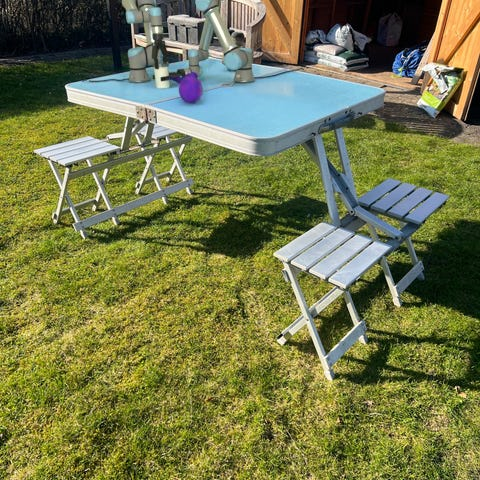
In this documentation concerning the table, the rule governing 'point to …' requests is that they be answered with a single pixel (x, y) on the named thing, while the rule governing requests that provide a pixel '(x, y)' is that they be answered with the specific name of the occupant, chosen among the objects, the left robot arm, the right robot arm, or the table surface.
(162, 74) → the jar
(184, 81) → the toy
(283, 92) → the table surface
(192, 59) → the right robot arm
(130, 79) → the left robot arm
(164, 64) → the lid
